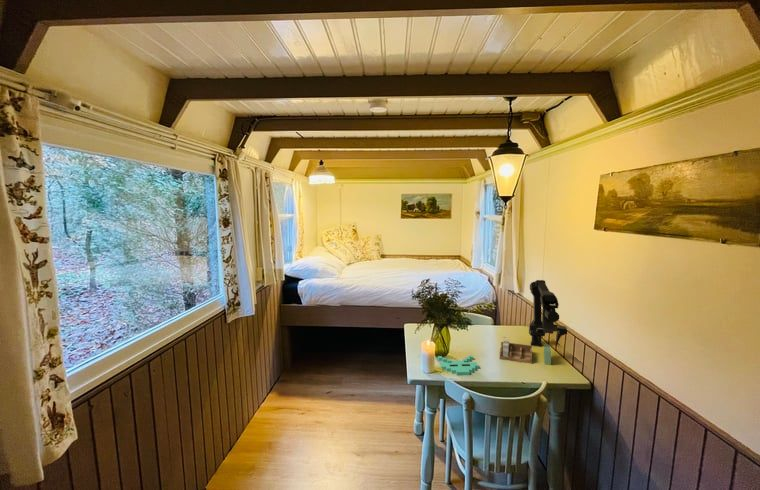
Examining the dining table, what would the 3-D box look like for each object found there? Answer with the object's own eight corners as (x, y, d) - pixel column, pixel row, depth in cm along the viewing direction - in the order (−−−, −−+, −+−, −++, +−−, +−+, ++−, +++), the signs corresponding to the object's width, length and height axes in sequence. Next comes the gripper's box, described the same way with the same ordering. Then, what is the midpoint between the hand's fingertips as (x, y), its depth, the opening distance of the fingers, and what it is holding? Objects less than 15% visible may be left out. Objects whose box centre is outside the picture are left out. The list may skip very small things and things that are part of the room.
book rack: (501, 349, 206) (501, 337, 205) (531, 353, 199) (531, 340, 198) (499, 359, 193) (499, 345, 192) (531, 363, 186) (532, 349, 185)
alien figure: (437, 359, 195) (444, 376, 175) (437, 356, 195) (444, 372, 175) (472, 359, 195) (482, 375, 175) (472, 355, 195) (482, 371, 175)
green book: (543, 357, 194) (544, 344, 193) (549, 358, 193) (549, 344, 192) (544, 364, 185) (544, 350, 184) (550, 365, 184) (551, 351, 183)
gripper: (529, 318, 183) (529, 346, 184) (568, 322, 175) (567, 351, 177) (529, 313, 193) (529, 339, 195) (566, 316, 185) (565, 343, 187)
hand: (547, 343), depth 188 cm, fingers open, 9 cm apart
